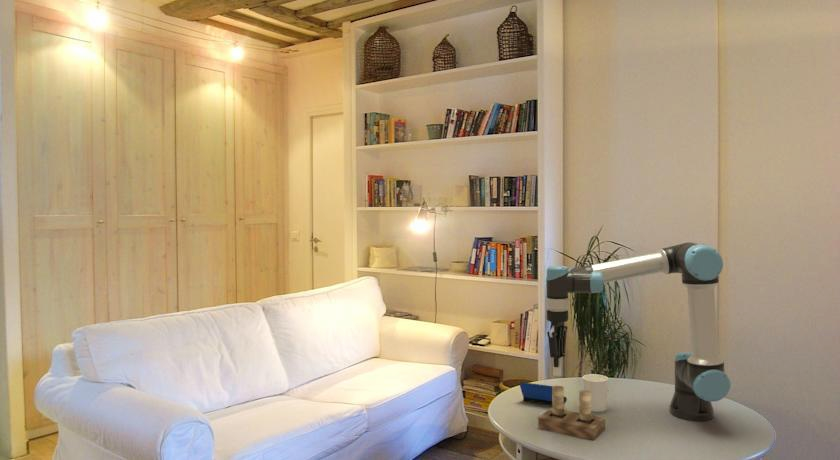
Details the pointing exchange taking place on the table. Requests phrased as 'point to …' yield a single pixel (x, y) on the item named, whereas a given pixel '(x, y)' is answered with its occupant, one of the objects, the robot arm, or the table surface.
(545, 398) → the handheld game console
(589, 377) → the candle holder
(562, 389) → the beech peg
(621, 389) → the table surface
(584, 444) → the table surface
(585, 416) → the wooden peg block
